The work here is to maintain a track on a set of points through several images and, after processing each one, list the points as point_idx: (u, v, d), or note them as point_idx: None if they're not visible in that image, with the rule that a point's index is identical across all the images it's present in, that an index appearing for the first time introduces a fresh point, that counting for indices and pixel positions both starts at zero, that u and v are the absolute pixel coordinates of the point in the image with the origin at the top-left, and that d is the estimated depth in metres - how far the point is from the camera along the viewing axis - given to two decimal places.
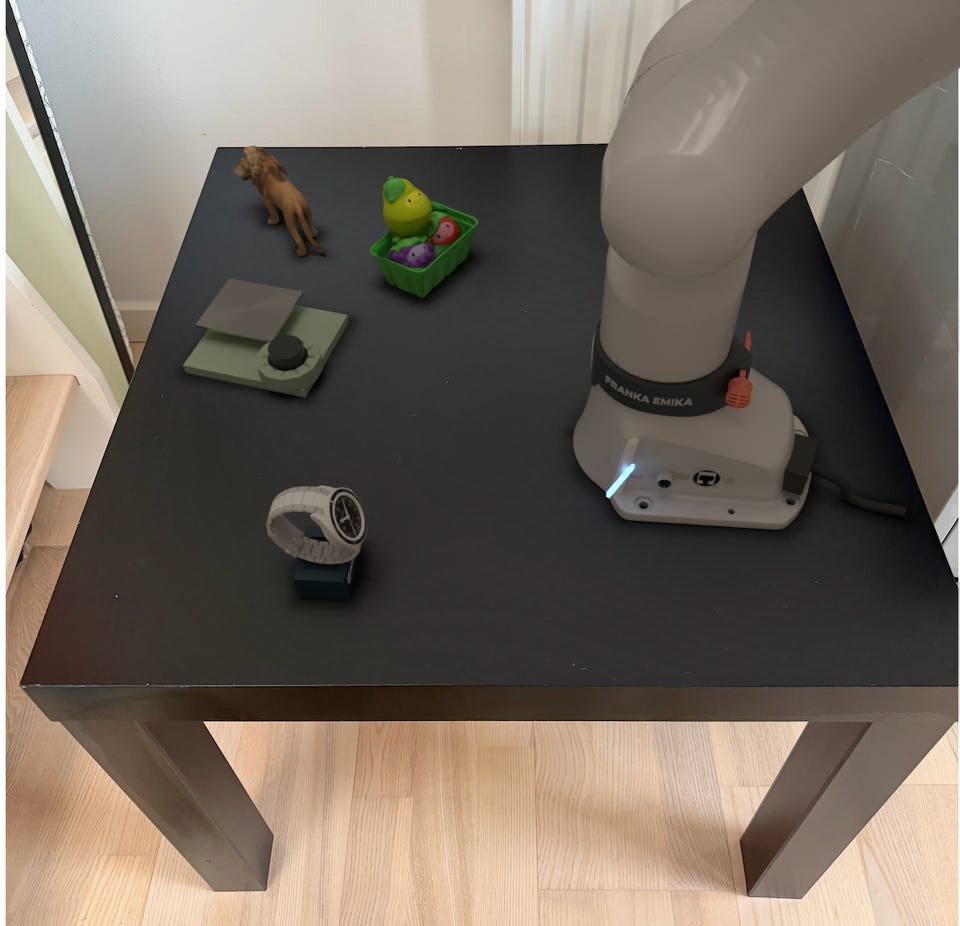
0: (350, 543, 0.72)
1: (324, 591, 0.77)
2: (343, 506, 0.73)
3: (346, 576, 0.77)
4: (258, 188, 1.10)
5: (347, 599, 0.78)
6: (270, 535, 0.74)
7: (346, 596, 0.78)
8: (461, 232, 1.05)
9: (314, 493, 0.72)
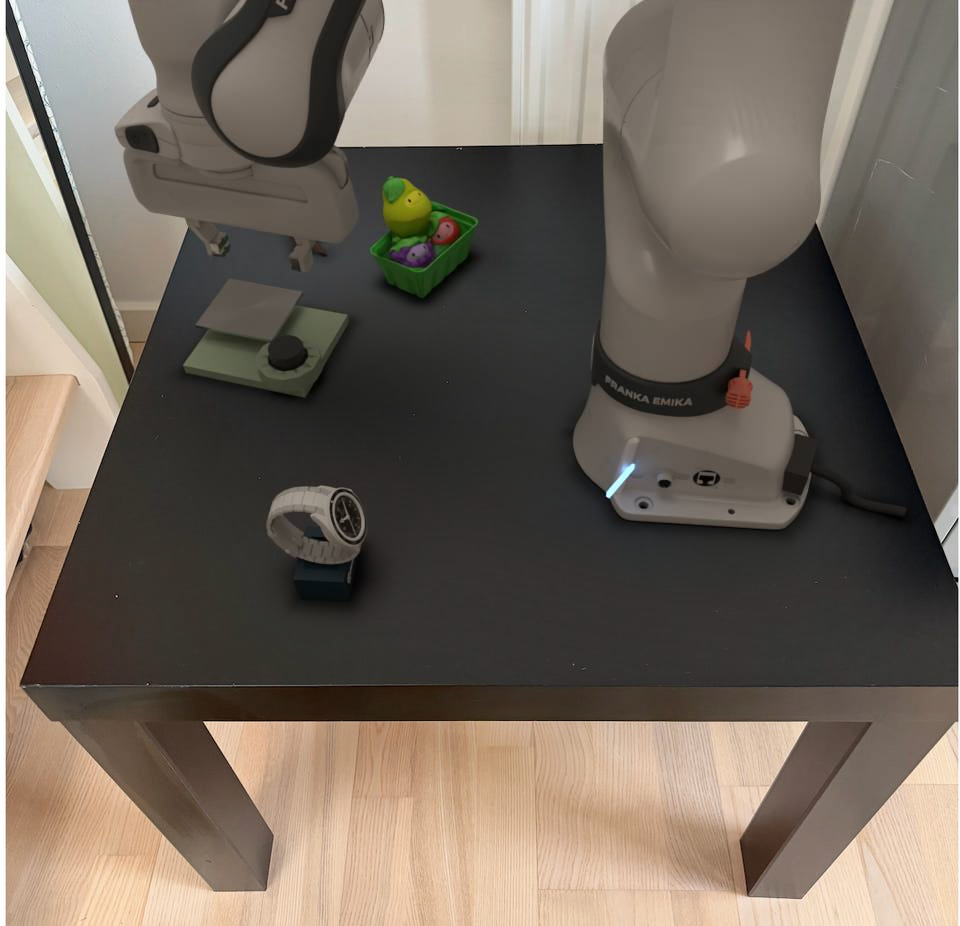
0: (350, 543, 0.72)
1: (324, 591, 0.77)
2: (343, 506, 0.73)
3: (346, 576, 0.77)
4: None
5: (347, 599, 0.78)
6: (270, 535, 0.74)
7: (346, 596, 0.78)
8: (461, 232, 1.05)
9: (314, 493, 0.72)
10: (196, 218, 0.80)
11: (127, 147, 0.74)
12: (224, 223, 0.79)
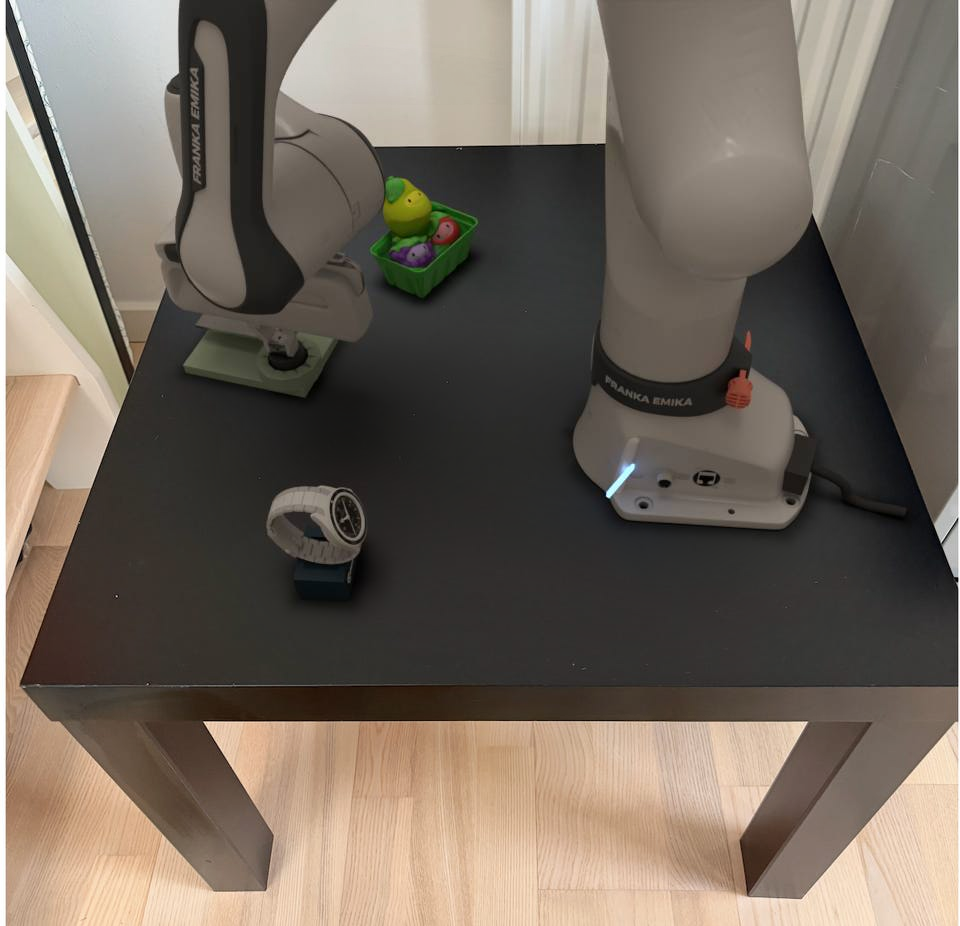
0: (350, 543, 0.72)
1: (324, 591, 0.77)
2: (343, 506, 0.73)
3: (346, 576, 0.77)
4: None
5: (347, 599, 0.78)
6: (270, 535, 0.74)
7: (346, 596, 0.78)
8: (461, 232, 1.05)
9: (314, 493, 0.72)
10: (225, 316, 0.89)
11: (165, 260, 0.83)
12: (251, 322, 0.88)
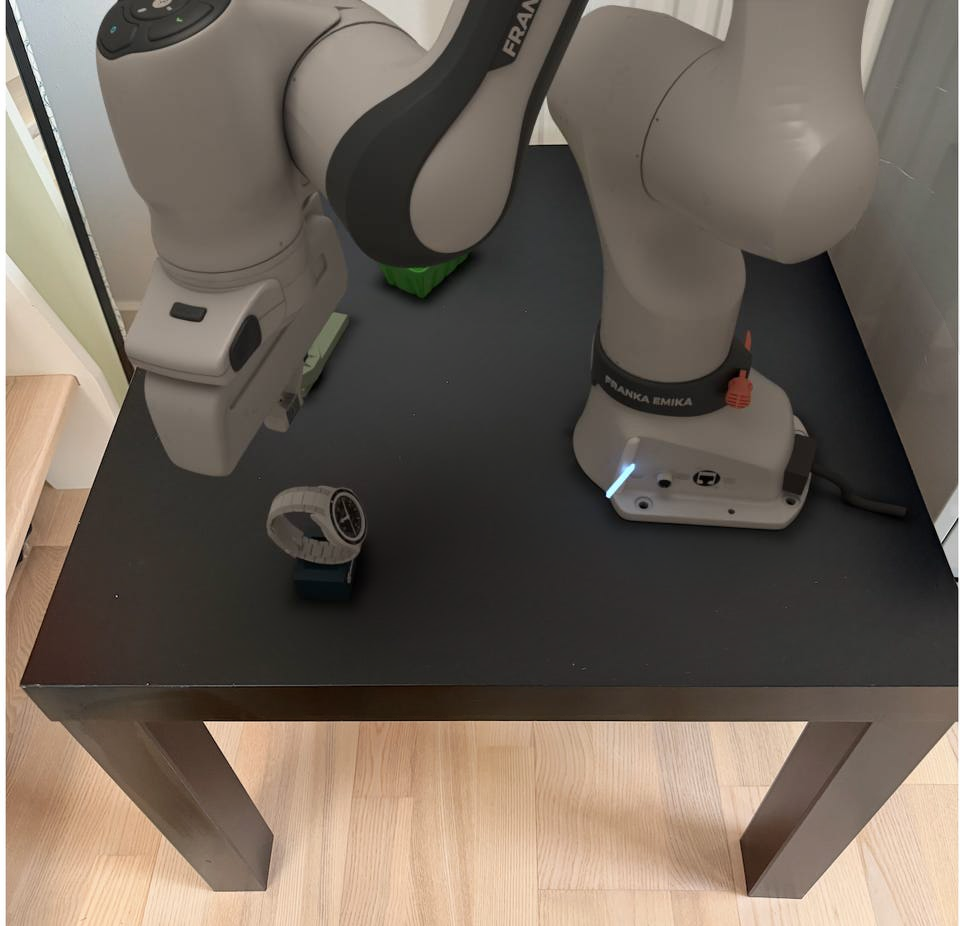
0: (350, 543, 0.72)
1: (324, 591, 0.77)
2: (343, 506, 0.73)
3: (346, 576, 0.77)
4: None
5: (347, 599, 0.78)
6: (270, 535, 0.74)
7: (346, 596, 0.78)
8: None
9: (314, 493, 0.72)
10: (265, 417, 0.60)
11: (233, 378, 0.52)
12: (283, 388, 0.61)
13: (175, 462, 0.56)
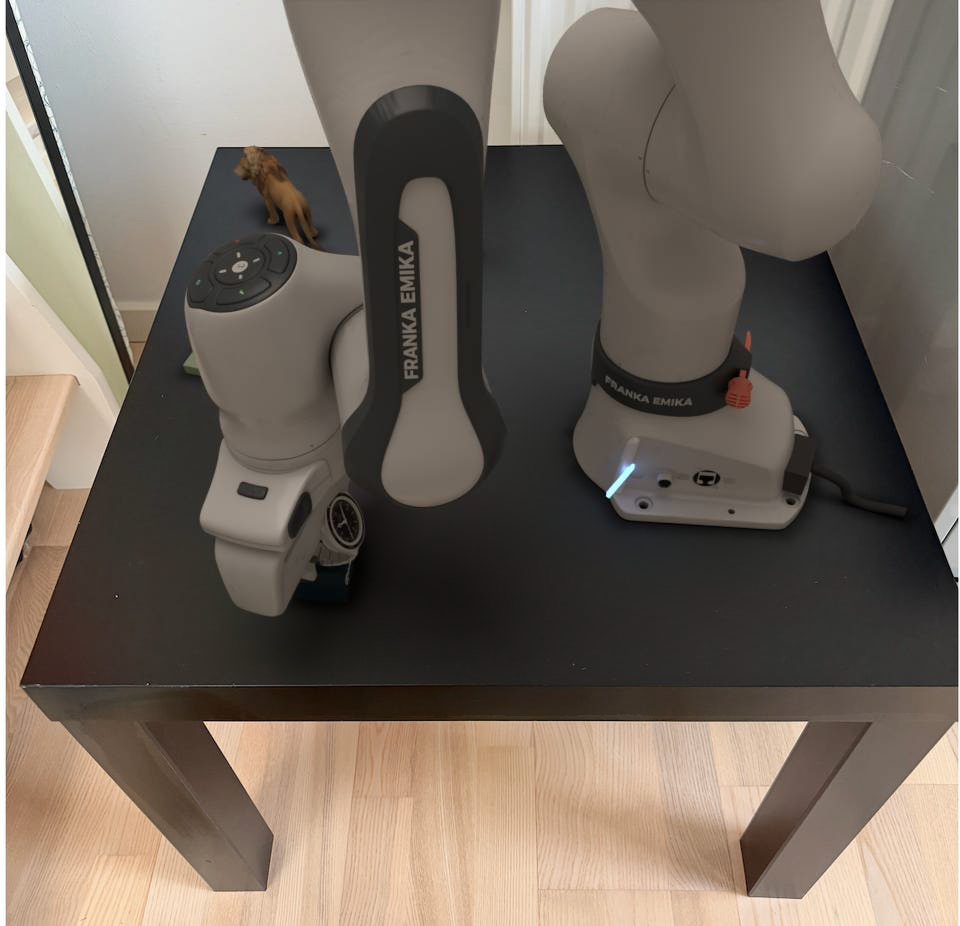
0: (347, 548, 0.72)
1: (321, 593, 0.77)
2: (340, 510, 0.73)
3: (344, 578, 0.77)
4: (258, 188, 1.10)
5: (345, 600, 0.78)
6: None
7: (344, 597, 0.78)
8: None
9: None
10: (310, 558, 0.70)
11: (290, 544, 0.62)
12: None
13: (237, 605, 0.67)
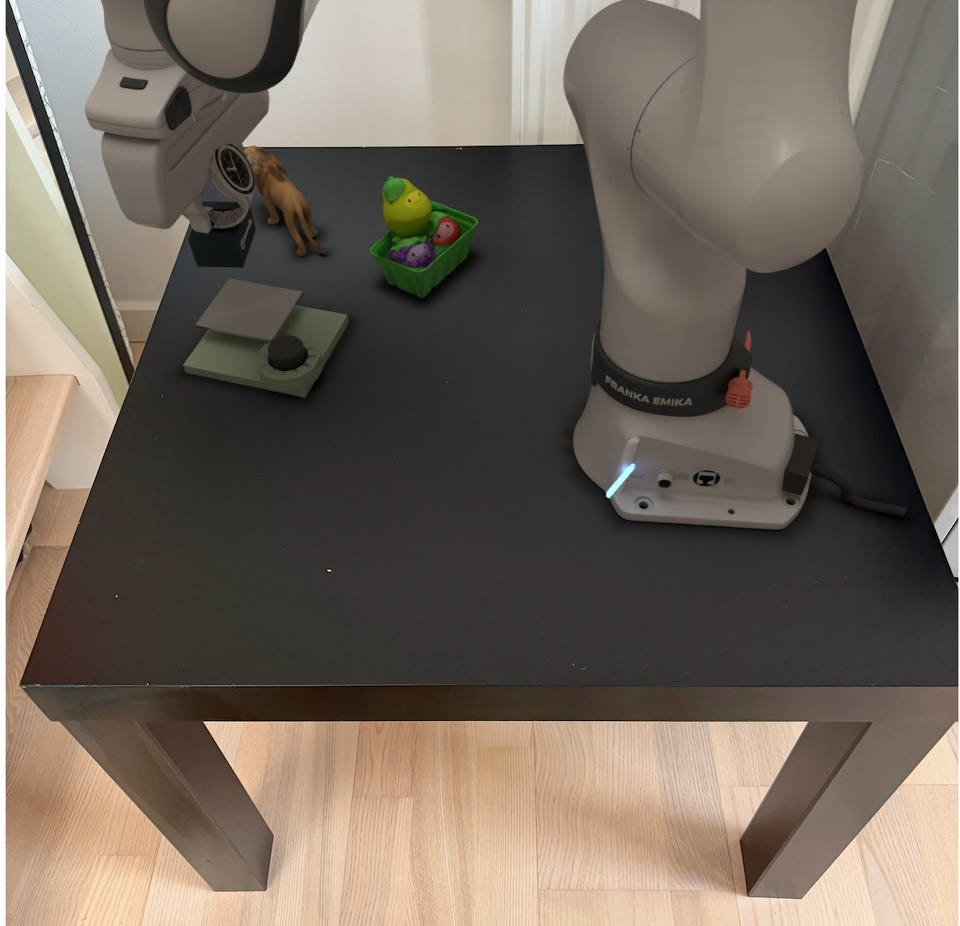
0: (236, 190, 0.77)
1: (218, 255, 0.82)
2: (230, 158, 0.78)
3: (239, 239, 0.82)
4: (258, 188, 1.10)
5: (241, 265, 0.83)
6: None
7: (240, 260, 0.83)
8: (461, 232, 1.05)
9: None
10: (199, 191, 0.76)
11: (168, 134, 0.68)
12: None
13: (127, 216, 0.72)
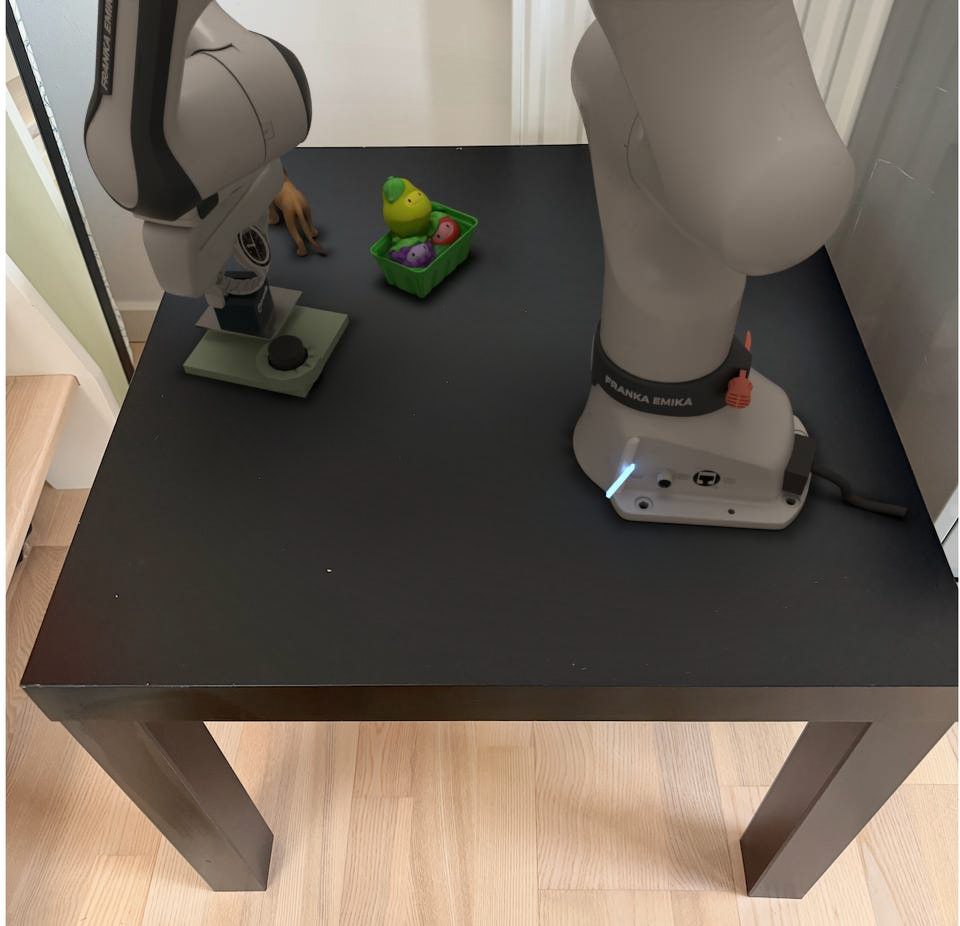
0: (255, 263, 0.90)
1: (238, 317, 0.95)
2: (250, 236, 0.91)
3: (256, 304, 0.94)
4: None
5: (258, 326, 0.96)
6: None
7: (257, 322, 0.95)
8: (461, 232, 1.05)
9: None
10: (224, 263, 0.88)
11: (199, 223, 0.80)
12: None
13: (163, 288, 0.84)
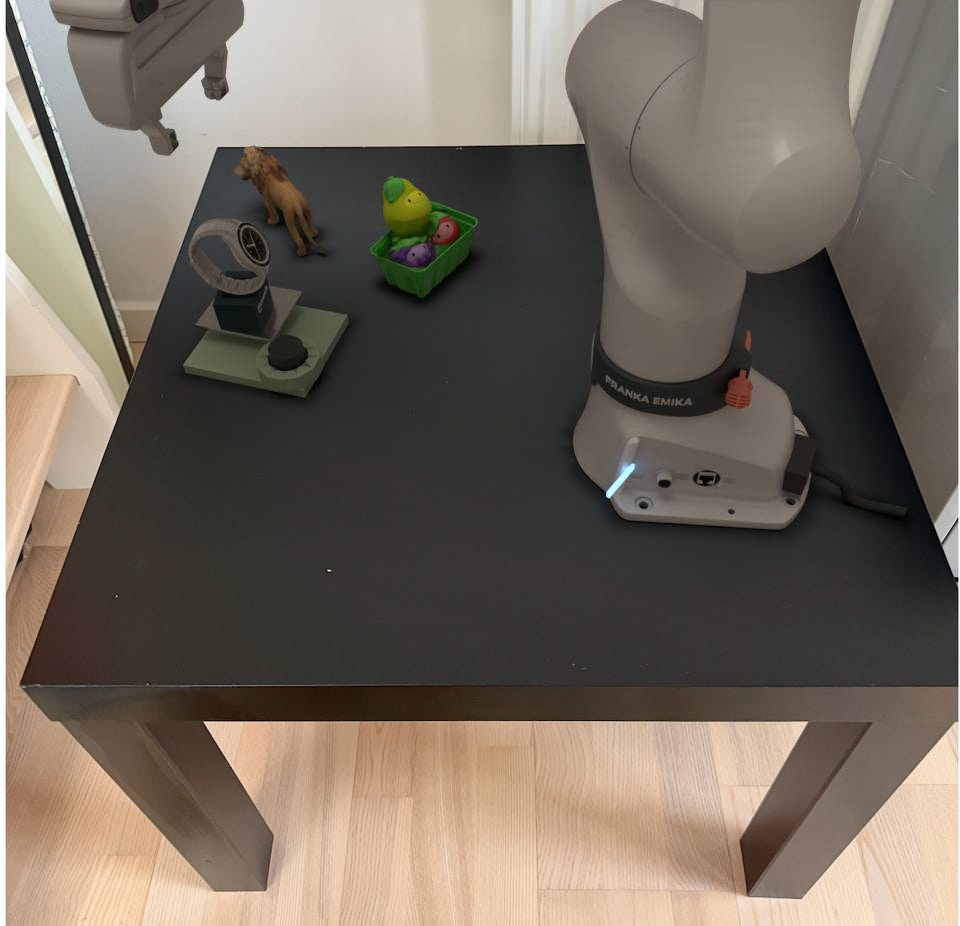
0: (255, 263, 0.90)
1: (238, 317, 0.95)
2: (250, 236, 0.91)
3: (256, 304, 0.94)
4: (258, 188, 1.10)
5: (258, 326, 0.96)
6: (192, 264, 0.92)
7: (257, 322, 0.95)
8: (461, 232, 1.05)
9: (225, 223, 0.90)
10: (170, 95, 0.74)
11: (134, 27, 0.67)
12: (186, 79, 0.76)
13: (95, 116, 0.71)
